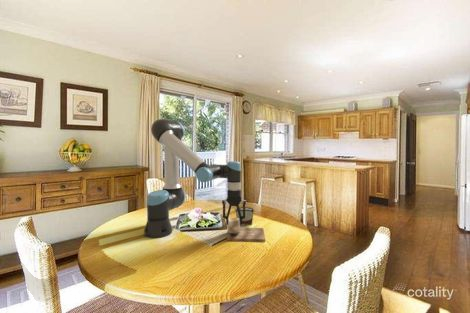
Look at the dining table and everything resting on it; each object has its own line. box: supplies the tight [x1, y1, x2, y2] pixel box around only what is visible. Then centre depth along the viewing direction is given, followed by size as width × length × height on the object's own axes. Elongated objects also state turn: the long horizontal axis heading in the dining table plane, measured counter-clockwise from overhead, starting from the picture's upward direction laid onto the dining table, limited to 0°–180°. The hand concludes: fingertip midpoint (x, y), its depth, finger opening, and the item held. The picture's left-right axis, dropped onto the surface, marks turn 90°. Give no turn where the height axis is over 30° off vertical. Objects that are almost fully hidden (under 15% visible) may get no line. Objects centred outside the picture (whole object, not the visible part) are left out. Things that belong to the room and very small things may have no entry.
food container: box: [234, 206, 255, 226], centre depth 153 cm, size 12×6×10 cm, turn 84°
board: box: [226, 227, 266, 243], centre depth 133 cm, size 20×16×1 cm
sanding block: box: [228, 217, 239, 234], centre depth 133 cm, size 5×9×6 cm, turn 178°
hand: (234, 230), depth 133 cm, fingers closed on sanding block, 5 cm apart
